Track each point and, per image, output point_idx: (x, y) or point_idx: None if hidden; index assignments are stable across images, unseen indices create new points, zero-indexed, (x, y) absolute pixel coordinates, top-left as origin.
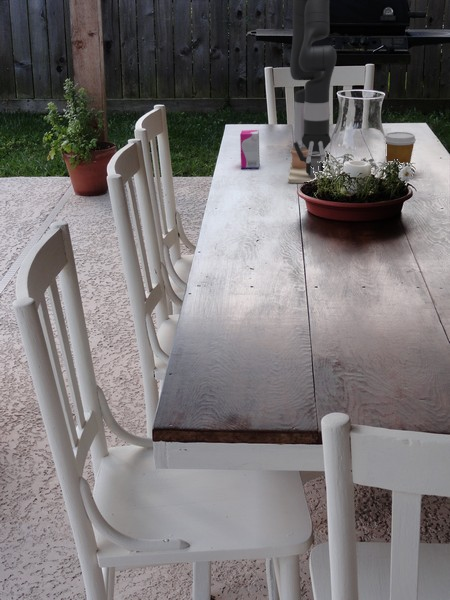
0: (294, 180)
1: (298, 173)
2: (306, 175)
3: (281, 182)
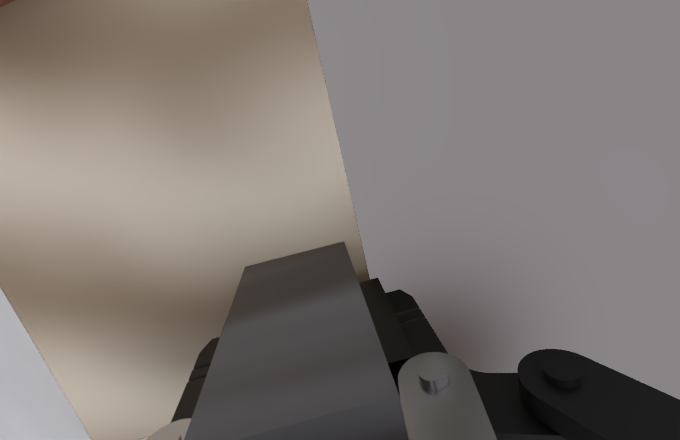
0: (155, 430)
1: (91, 241)
2: (207, 288)
3: (41, 410)
